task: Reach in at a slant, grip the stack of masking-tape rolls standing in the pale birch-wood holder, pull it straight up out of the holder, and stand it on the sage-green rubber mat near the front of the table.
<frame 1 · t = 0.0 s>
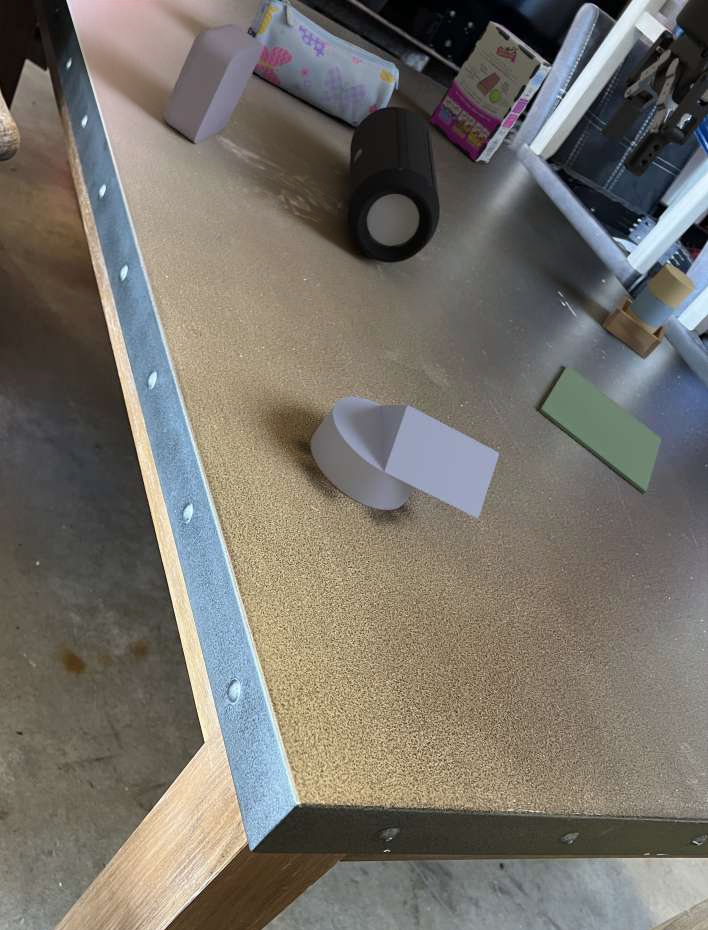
hand: (619, 154, 99), 21 cm above the table, tool pointing down, fingers open, 8 cm apart
pencil case: (301, 98, 131), on the table
tape stack: (653, 306, 131), in the holder
portable speaker: (367, 220, 114), on the table
wedge on round base: (379, 480, 77), on the table
mauve upright block: (190, 126, 106), on the table
holder: (626, 335, 134), on the table
mat: (602, 426, 107), on the table
popsicle box: (456, 143, 156), on the table
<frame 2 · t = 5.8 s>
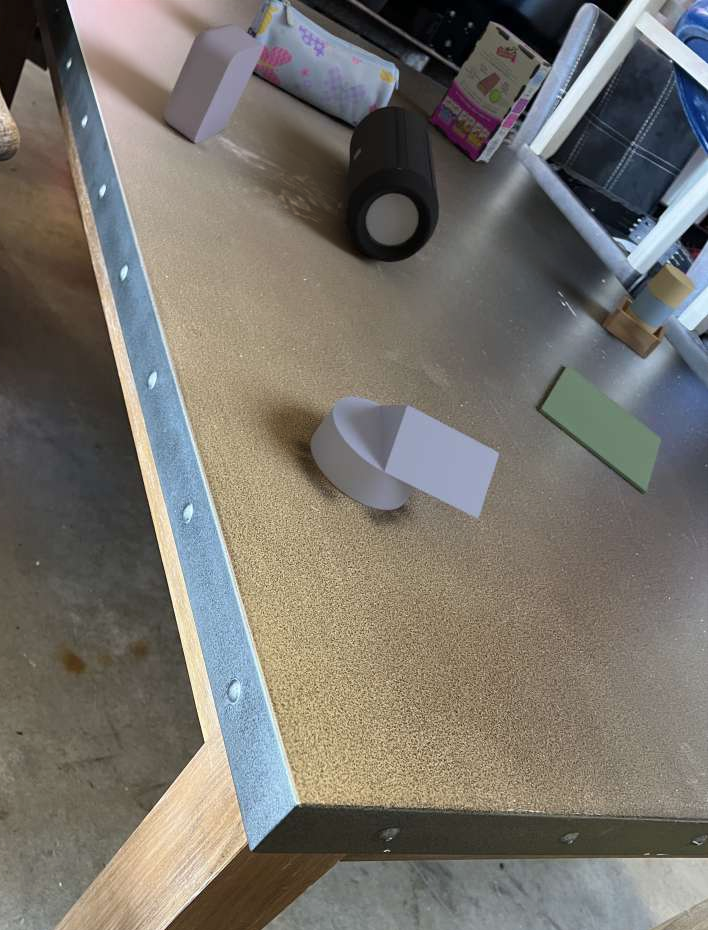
nothing on the table moved.
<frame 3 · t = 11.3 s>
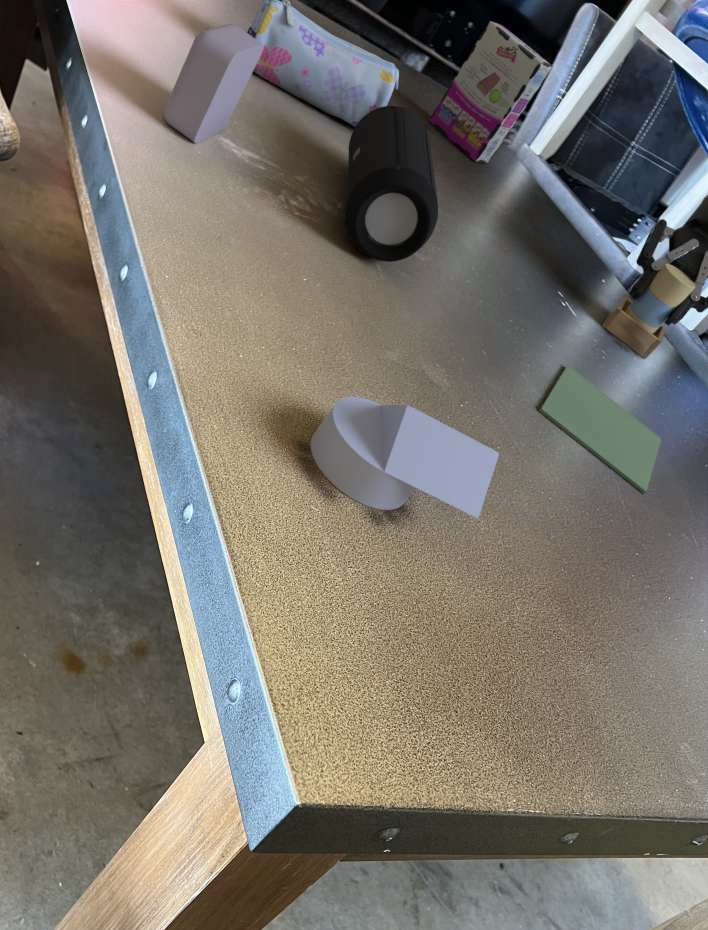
hand: (652, 308, 129), 5 cm above the table, tool tilted 45°, fingers closed on tape stack, 5 cm apart
tape stack: (653, 306, 131), in the holder, touching gripper
everything else where it was.
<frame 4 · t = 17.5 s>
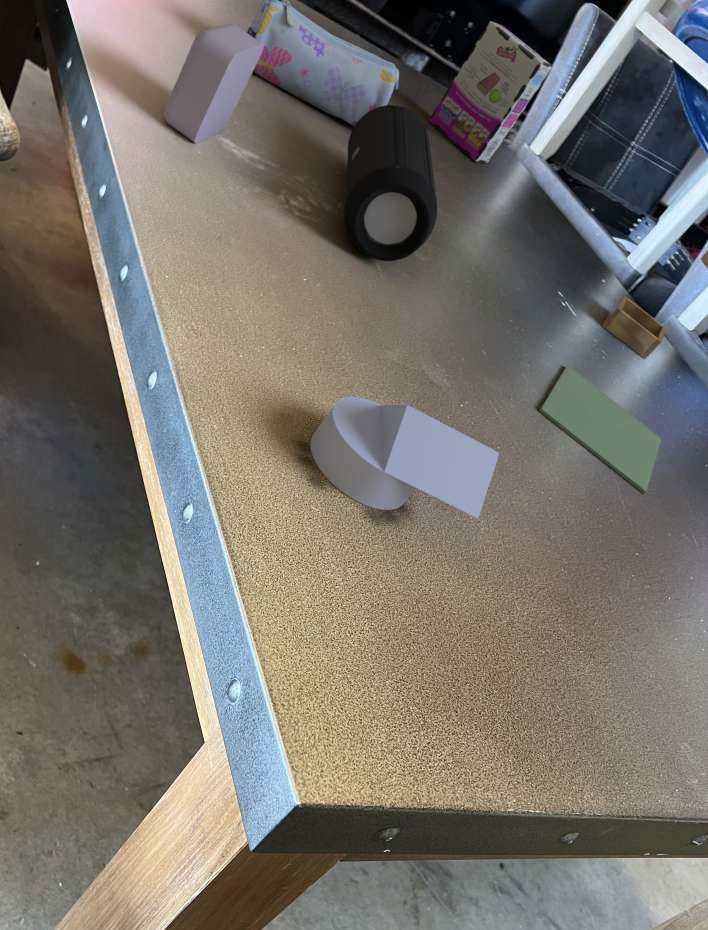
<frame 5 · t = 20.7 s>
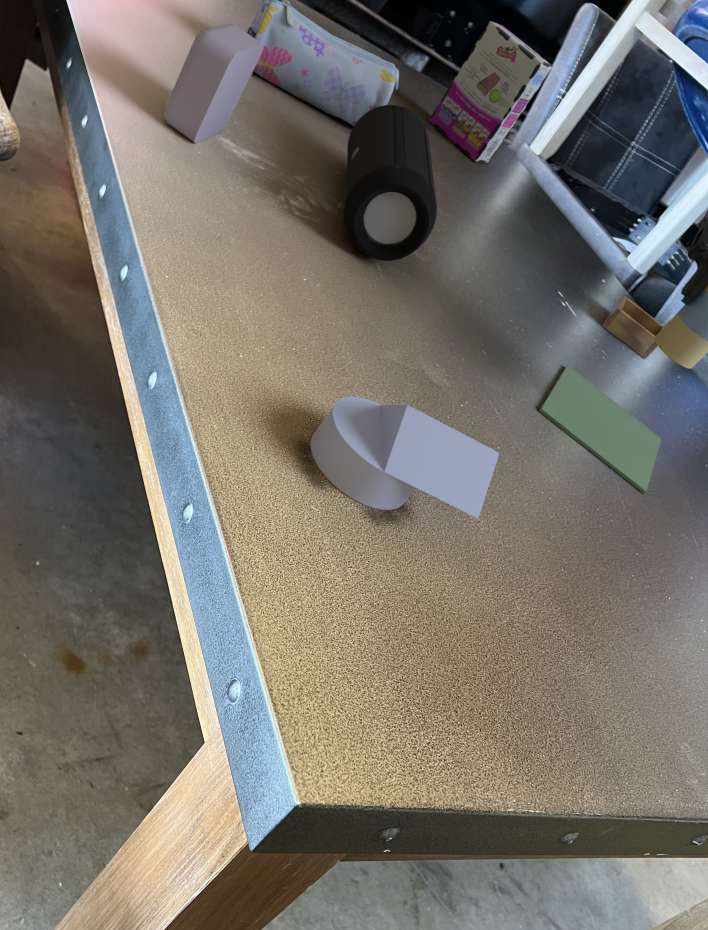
when the fingers open (6 cm above the table, at t = 23.9 s): tape stack stays where it is, resting on mat.
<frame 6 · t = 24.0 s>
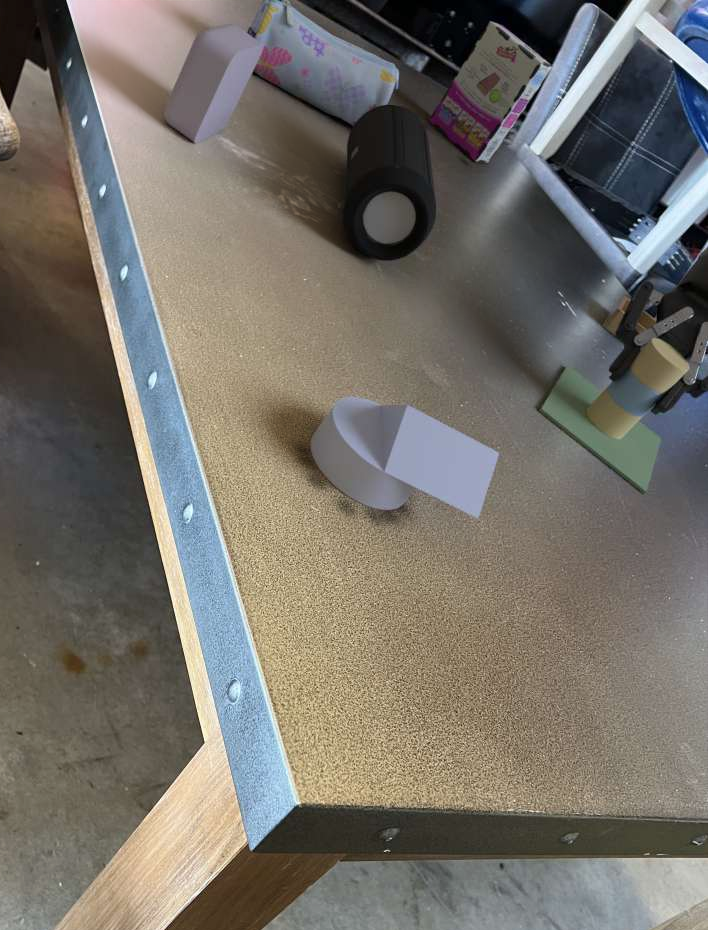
hand: (635, 394, 102), 6 cm above the table, tool tilted 45°, fingers open, 5 cm apart
tape stack: (636, 389, 104), on the mat
everything else where it was.
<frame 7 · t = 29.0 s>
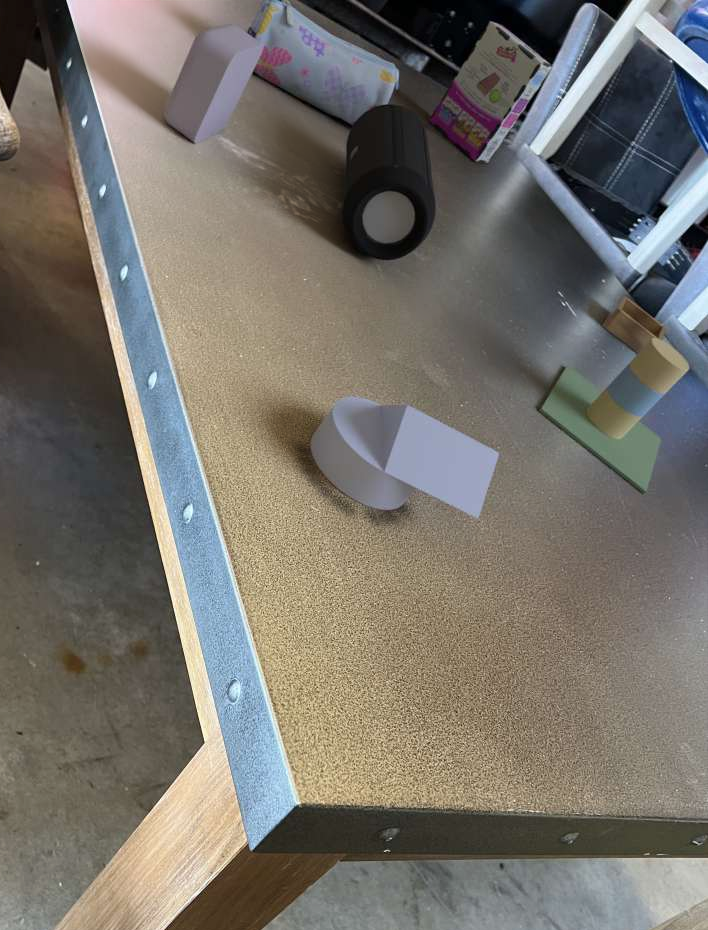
nothing on the table moved.
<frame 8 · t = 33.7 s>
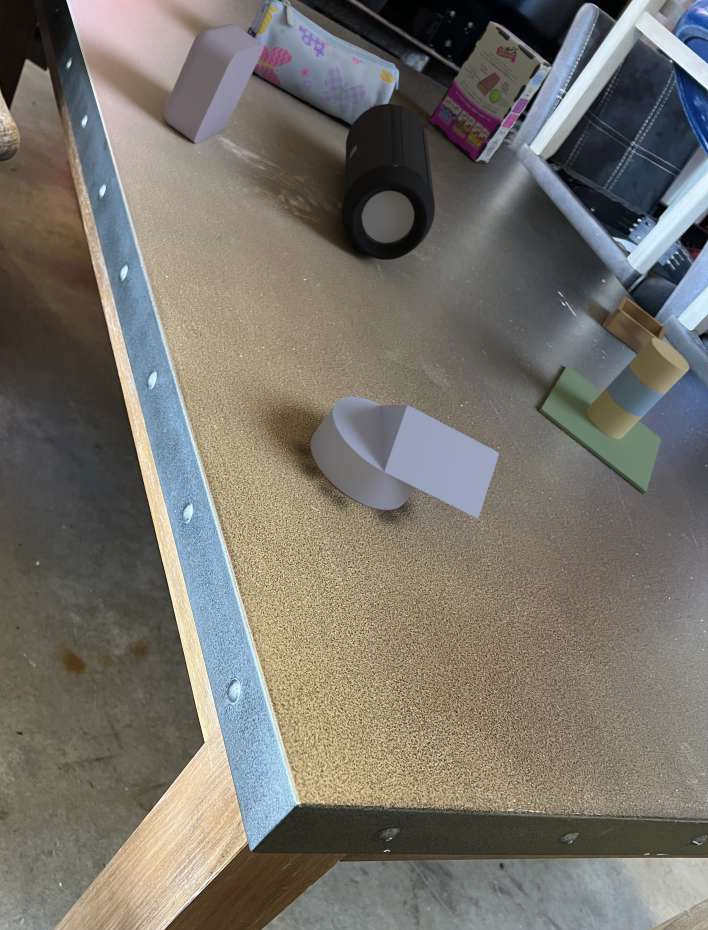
nothing on the table moved.
at the end: tape stack inside the target area on the mat (0.1 cm from its centre), point 5.4 cm above the mat's base; tape stack tilted 0°; the gripper is holding nothing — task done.
